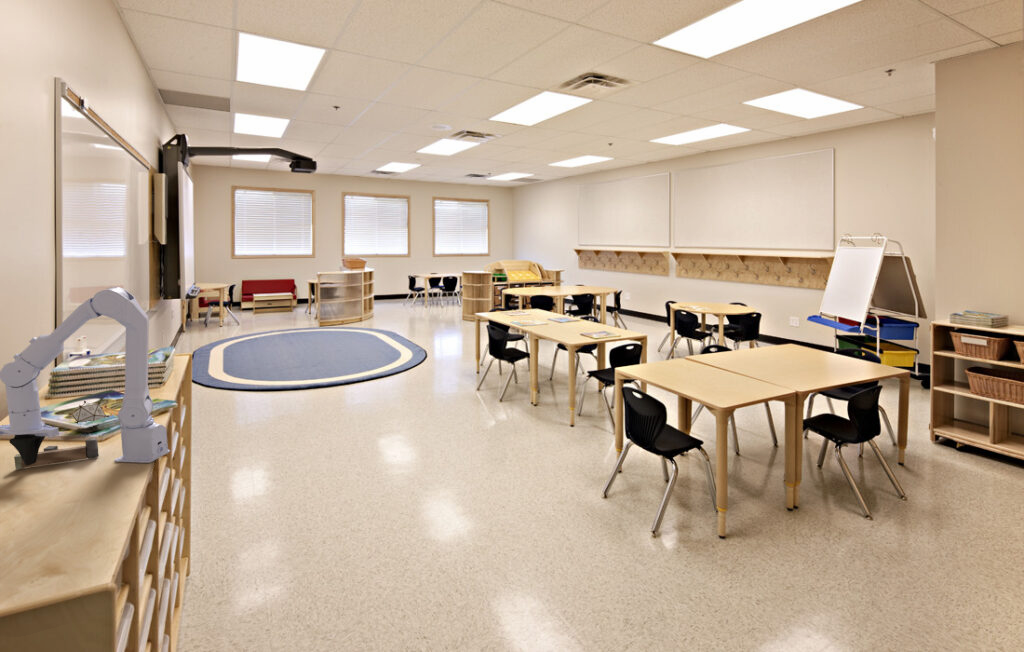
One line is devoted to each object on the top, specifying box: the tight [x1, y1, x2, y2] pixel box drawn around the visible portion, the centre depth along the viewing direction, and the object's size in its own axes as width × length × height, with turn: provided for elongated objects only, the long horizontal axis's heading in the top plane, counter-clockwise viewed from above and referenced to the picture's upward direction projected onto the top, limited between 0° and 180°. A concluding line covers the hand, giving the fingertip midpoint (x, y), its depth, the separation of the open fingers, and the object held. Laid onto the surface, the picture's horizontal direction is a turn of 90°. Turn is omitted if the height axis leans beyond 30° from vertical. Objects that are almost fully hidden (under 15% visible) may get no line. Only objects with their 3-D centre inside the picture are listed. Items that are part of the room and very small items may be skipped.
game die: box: [68, 400, 110, 424], centre depth 161 cm, size 9×8×10 cm
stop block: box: [43, 445, 59, 451], centre depth 140 cm, size 2×2×2 cm
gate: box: [13, 437, 99, 471], centre depth 136 cm, size 16×2×5 cm, turn 121°
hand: (30, 463), depth 131 cm, fingers closed
